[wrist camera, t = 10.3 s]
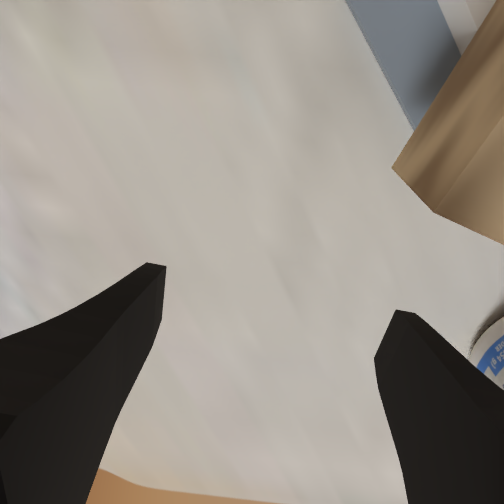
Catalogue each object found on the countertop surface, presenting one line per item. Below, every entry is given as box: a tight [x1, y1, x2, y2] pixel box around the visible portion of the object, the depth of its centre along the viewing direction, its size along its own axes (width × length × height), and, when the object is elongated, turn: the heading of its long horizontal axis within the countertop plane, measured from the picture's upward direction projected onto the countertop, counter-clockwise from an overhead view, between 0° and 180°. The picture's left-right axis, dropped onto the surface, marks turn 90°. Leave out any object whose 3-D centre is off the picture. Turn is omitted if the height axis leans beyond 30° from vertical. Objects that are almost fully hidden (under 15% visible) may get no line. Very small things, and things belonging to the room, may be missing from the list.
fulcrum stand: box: [345, 0, 496, 131], centre depth 15 cm, size 10×8×3 cm
